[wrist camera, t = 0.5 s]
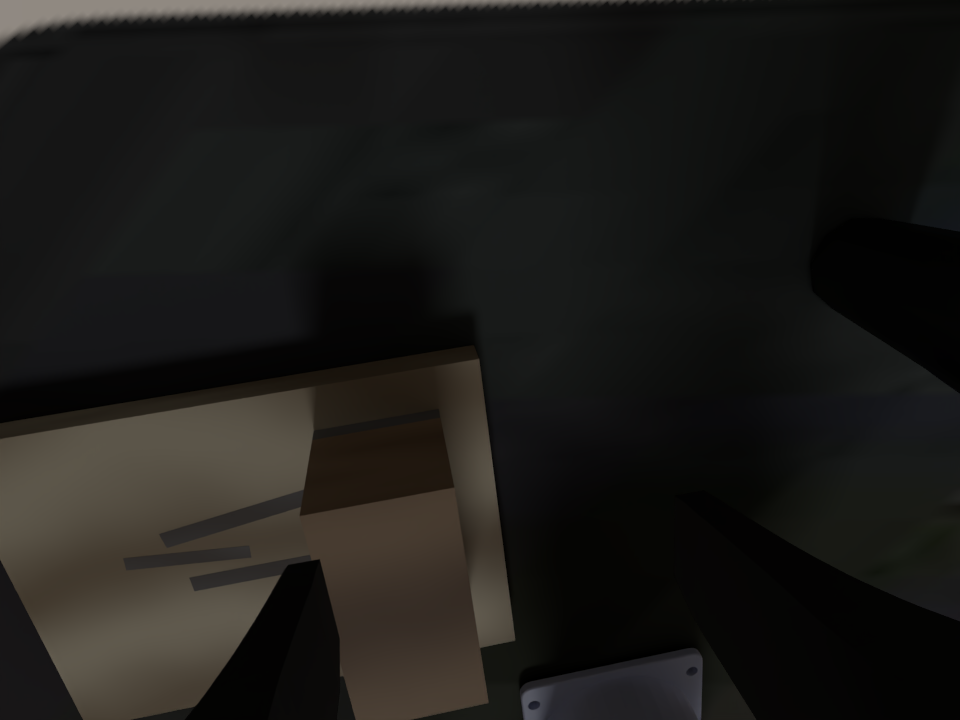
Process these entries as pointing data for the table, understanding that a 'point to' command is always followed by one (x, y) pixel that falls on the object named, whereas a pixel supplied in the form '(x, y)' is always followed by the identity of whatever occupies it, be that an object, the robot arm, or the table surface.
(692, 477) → the table surface
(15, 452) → the board
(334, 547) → the block
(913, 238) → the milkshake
